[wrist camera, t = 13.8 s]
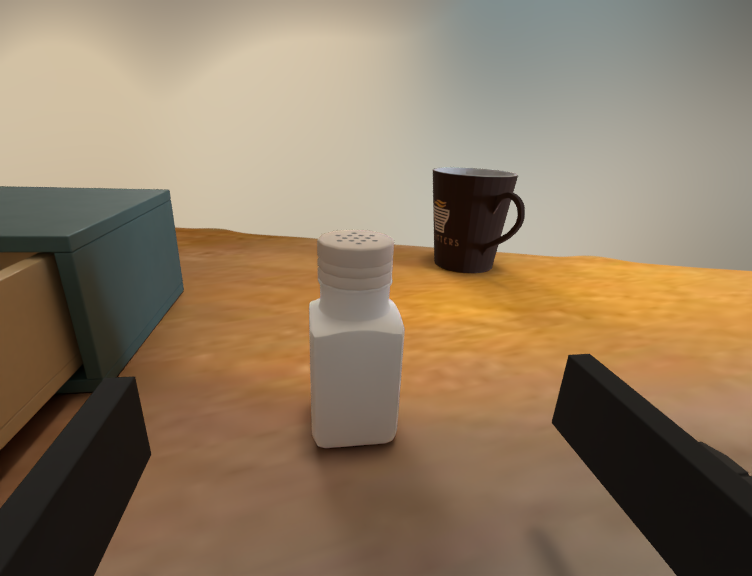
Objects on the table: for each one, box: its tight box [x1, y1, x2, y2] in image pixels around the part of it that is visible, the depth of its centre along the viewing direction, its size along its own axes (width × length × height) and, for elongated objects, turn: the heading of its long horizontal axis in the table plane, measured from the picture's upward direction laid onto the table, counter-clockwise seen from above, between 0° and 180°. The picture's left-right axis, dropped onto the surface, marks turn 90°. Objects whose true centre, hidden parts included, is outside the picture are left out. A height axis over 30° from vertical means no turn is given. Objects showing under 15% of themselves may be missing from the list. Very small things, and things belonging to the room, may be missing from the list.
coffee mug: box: [433, 167, 525, 273], centre depth 42 cm, size 12×9×10 cm
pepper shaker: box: [309, 230, 405, 448], centre depth 19 cm, size 4×4×10 cm
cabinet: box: [0, 186, 184, 394], centre depth 26 cm, size 15×12×9 cm
